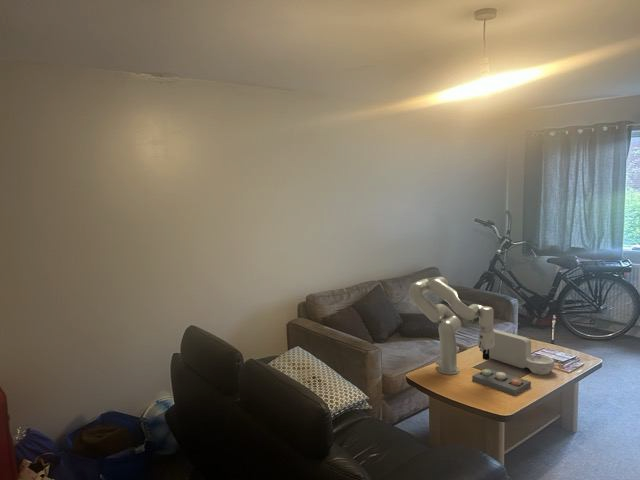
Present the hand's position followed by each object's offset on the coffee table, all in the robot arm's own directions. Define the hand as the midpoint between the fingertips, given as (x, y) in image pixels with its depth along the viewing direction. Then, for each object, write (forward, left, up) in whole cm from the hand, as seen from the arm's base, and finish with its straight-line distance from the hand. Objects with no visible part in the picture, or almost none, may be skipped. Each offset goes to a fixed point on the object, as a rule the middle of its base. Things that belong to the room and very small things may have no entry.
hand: (486, 359), depth 262 cm
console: (+9, 0, -12) cm, 15 cm away
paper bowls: (+15, +31, -12) cm, 37 cm away
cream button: (+9, 0, -8) cm, 12 cm away
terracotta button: (+18, 0, -9) cm, 21 cm away
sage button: (0, 0, -9) cm, 9 cm away
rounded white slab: (-6, +32, -12) cm, 35 cm away
